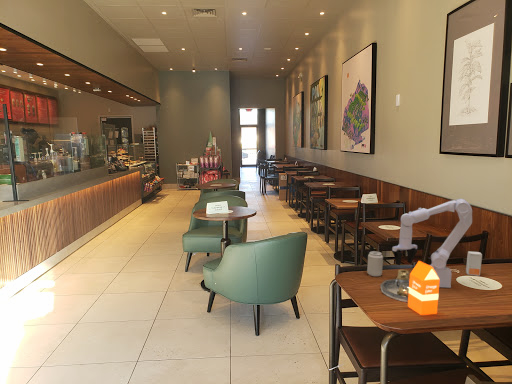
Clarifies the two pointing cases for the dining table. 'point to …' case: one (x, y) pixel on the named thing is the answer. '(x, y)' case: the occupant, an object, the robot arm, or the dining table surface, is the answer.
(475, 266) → the skincare box
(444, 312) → the dining table surface
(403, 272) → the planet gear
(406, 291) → the carrier
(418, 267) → the orange juice
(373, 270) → the can
